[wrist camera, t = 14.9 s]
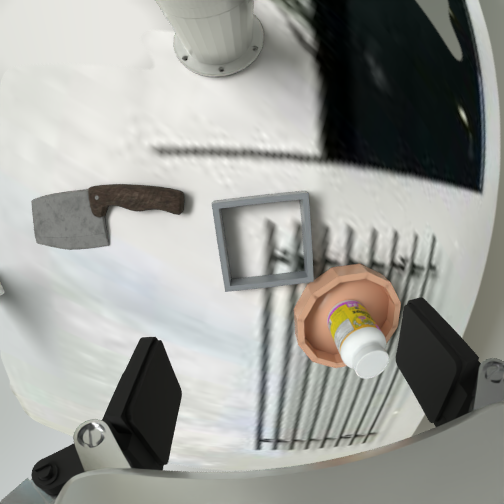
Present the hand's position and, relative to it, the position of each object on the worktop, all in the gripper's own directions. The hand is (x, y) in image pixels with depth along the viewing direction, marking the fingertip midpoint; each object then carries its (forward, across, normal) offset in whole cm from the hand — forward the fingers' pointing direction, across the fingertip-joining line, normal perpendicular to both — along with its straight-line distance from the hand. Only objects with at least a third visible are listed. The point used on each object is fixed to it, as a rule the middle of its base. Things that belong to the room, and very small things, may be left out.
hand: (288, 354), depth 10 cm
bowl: (+31, -12, +20) cm, 38 cm away
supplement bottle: (+30, -12, +20) cm, 38 cm away
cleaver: (+32, +25, -2) cm, 41 cm away
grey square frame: (+31, 0, +6) cm, 32 cm away
